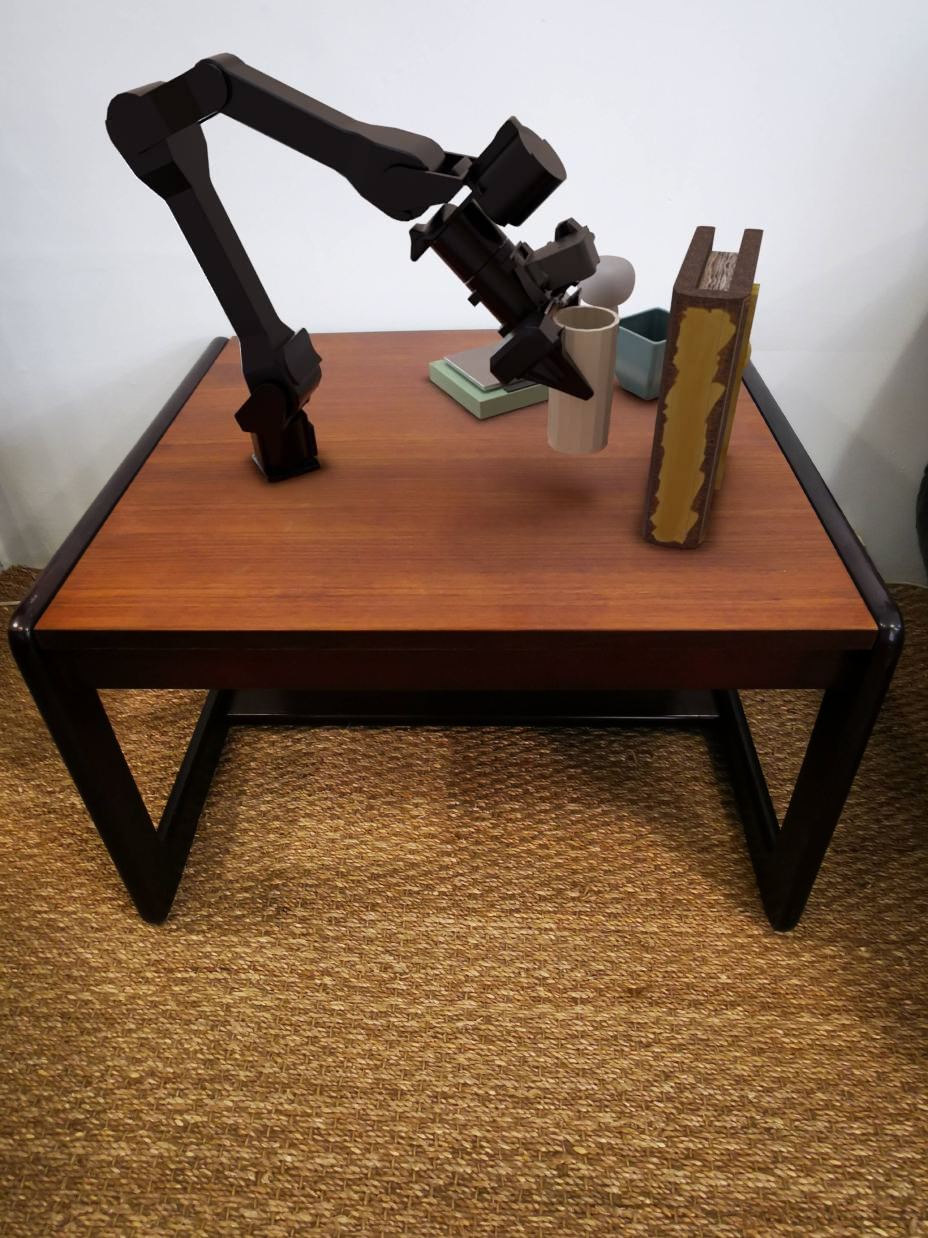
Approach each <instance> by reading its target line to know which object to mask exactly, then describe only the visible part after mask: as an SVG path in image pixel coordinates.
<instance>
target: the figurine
mask: <svg viewBox="0 0 928 1238" xmlns="http://www.w3.org/2000/svg"><path fill="white" fill-rule="evenodd" d="M599 258H600V263H599V264H597V267H596V268H597V271H596V273H595V274H594V275H593V276H591V277H589V278H587V279H585V280H583V281H580V283H579V284H578V285H577V286H576V290H578V289H579V288H580V287H582V295H581V301H582V302H584V303H585V304H586V305H588V306H598V307H602V308H607V309H609V310H612V311H614V312H616V313H617V314H618V315H619V306H620V305H622V304H624V303H625V302H626V301H628V300H629V299H630V297H631V296H632V294H633V292H634V289H635V285H636V271H635V268H634V266H633V264H632V263H631V262H630V261H629V260H628V259H626V258H624V257H621V256H617V255H608V254H607V255H606V254H605V255H599Z"/></svg>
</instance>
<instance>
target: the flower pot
mask: <svg viewBox="0 0 928 1238" xmlns="http://www.w3.org/2000/svg"><path fill="white" fill-rule="evenodd" d="M669 314H670V310H668V309H665V308H663V307H659V306H655V307H650V308H648V309H645V310H642V311H639V312H636V313H633V314H630V315H626V316H623V317H620V324H619V334H618V345H617V355H616V366H615V377H616V379H617V381H618V383H619V385H620V386H621V388H623V389H624V390H626V391H628V392H630V393H632V394H633V395H636V396H638V397H639V398H641V399H643V400H644V401H651V400H654V399H656V398H659V391H660V384H661V376H662V368H663V361H664V353H665V345H666V337H667V330H668V322H669Z"/></svg>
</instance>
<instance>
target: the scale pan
mask: <svg viewBox="0 0 928 1238" xmlns="http://www.w3.org/2000/svg"><path fill="white" fill-rule="evenodd" d="M499 342H500V341H496V342H493V343H489V344H486V345H482V346H477V347H474V348H470V349H467V350H466V349H465V350H462V351H460V352H455V353H451V354H447V355H444V356H443V359H444V361H445V362H446V363H448V364H449V365H450V366H452V367H453V368H454V369H456V370H457V371H458V372H460V373H461V374H462V375H464V376H465V377H466V378H468V379H469V380H470V381H472V382H473V383H474V384H476V385H477V386H478V387H480V388H481V389H482V390H484V391H486V390H489V389H493V388H496V387H500V386H503V385H502V384H501V383H500V382H499V381H498V380H497V379H496V378H495V377H494V376H493V375H492V374H491V372H490V357H491V355H492V353H493V352H494V350H495V348H496V346H497V344H498V343H499ZM521 380H524V379H522V378H521V379H520V380H516V379H513V380H512V381H511V382H510V383H514V382H517V381H521ZM510 383H509V384H510Z"/></svg>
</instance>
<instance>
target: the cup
mask: <svg viewBox="0 0 928 1238" xmlns="http://www.w3.org/2000/svg"><path fill="white" fill-rule="evenodd" d="M620 318H621V317H620V316H619V313H618V314H617V313H616V312H614V311H612V310H609V309H607V308H602V307H598V306H592V305H586V304H585V305H580V306H572V307H568V308H564V309H561V310H559V311H557V312H556V313H554V315H553V318H552V321H553V322H554V324H555V326H556V329H557V331H559V330H561V329H562V328H563V327H564V326H565V328H566V335H565V349H566V351H567V352H568V354H569V355H570V357H571V358H572V359H573V361H574V362H575V364H576V365H577V367H578V368H579V370H580V371H581V373H582V374H583V375H584V377H585V378H586V380H587V381H588V383H589V385H590V386H591V388H592V389H593V391H594V395H593V397H591V398H590V399H589V400H587V401H584V400H582V399H579V398H577V397H574V396H571V395H569V394H566V393H563V392H561V391H558V390H556V389H553V388H550V387H549V399H548V405H547V428H546V429H547V430H546V431H547V433H546V436H547V443H548V445H549V446H550V448H551V449H552V450H554V451H556V452H558V453H560V454H564V455H568V456H577V457H578V456H579V457H580V456H581V457H583V456H591V455H595V454H597V453H600V452H601V451H603V450H605V448H606V447H607V446H608V443H609V436H610V427H611V418H612V417H611V416H612V407H613V406H612V405H613V394H614V385H615V377H616V375H615V366H616V355H617V345H618V334H619V324H620Z"/></svg>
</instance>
